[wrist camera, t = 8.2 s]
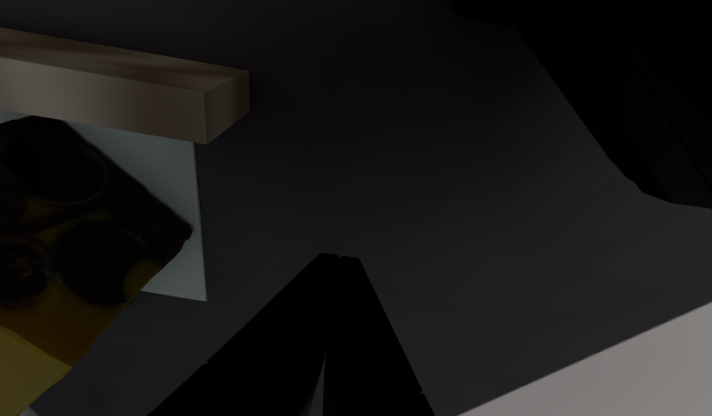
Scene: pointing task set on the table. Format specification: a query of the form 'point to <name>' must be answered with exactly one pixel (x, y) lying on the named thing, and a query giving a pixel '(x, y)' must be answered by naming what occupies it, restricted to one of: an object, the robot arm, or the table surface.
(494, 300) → the table surface
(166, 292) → the mat
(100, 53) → the arena
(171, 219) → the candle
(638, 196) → the table surface
